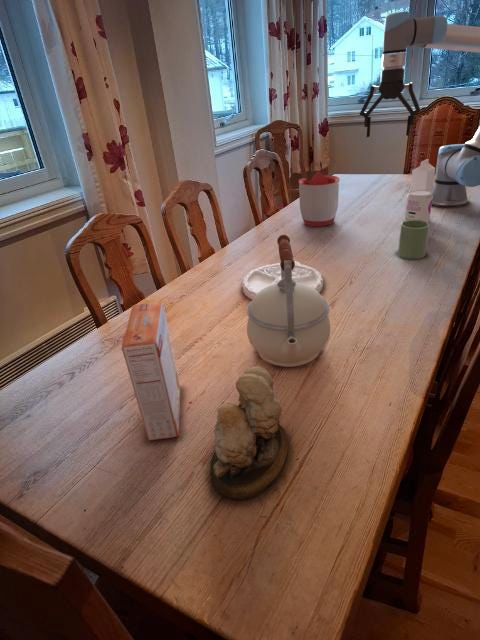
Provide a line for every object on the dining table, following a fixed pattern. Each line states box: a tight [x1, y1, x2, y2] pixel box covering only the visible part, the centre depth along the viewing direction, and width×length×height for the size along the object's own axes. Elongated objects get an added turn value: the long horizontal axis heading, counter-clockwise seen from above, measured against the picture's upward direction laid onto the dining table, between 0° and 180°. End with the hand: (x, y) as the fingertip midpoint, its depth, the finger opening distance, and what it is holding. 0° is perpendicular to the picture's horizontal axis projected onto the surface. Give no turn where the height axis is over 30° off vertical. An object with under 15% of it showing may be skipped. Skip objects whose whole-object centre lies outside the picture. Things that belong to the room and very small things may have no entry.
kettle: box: [246, 234, 331, 368], centre depth 90 cm, size 25×18×25 cm
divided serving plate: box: [242, 260, 324, 301], centre depth 127 cm, size 24×27×2 cm
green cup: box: [397, 220, 430, 260], centre depth 136 cm, size 8×8×10 cm
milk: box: [409, 158, 436, 195], centre depth 161 cm, size 6×6×22 cm
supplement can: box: [403, 190, 433, 224], centre depth 148 cm, size 8×8×15 cm
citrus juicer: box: [298, 171, 340, 228], centre depth 169 cm, size 16×17×20 cm
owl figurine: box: [209, 365, 289, 501], centre depth 67 cm, size 18×12×17 cm, turn 157°
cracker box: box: [121, 301, 182, 442], centre depth 77 cm, size 14×6×21 cm, turn 5°
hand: (387, 135), depth 156 cm, fingers open, 13 cm apart
